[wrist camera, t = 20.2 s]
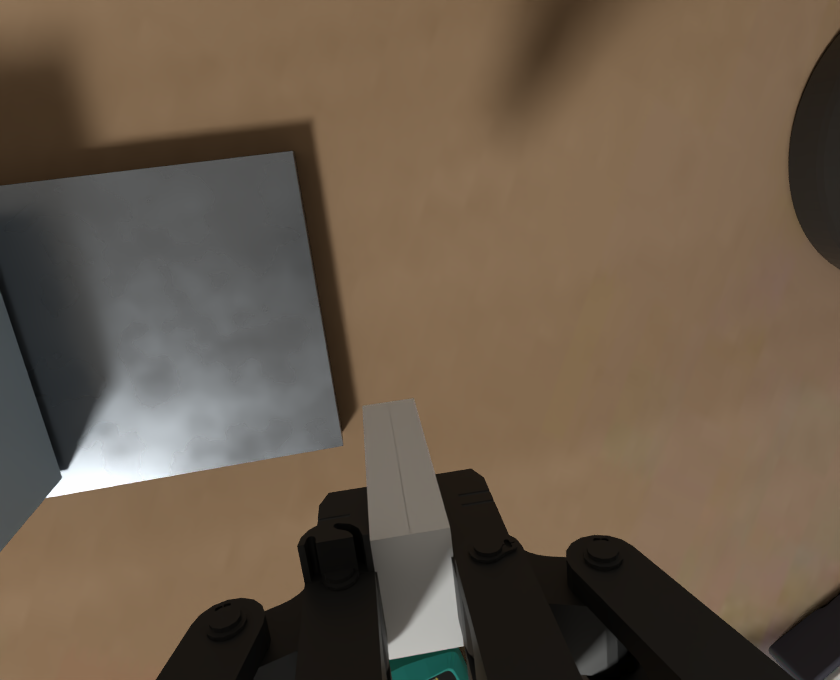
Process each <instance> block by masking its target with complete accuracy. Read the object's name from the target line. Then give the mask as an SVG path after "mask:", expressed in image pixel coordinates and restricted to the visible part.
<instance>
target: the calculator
mask: <svg viewBox="0 0 840 680" xmlns="http://www.w3.org/2000/svg"><path fill="white" fill-rule="evenodd" d="M769 653H770V654H771V655H772V657H773V658H774V659H775V660H776V661H777V662H778V663H779V665H780V666H781V667H782V668H783V669H784V670H785V671H786V672H787V673H788V674H790V675H791V676H792V677H793V678H794V679H796V680H840V594H839V595H838V596H837V597H836V598H835V599H833V600H832V601H831V602H830V603H829V604H828V605H827V606H825V607H824V608H821V609H817V610H815V611H814V612H813V613H812V614H810V615H809V616H808V617H806V618H805V619H804V620H803V621H801V622H800V623H799V624H798V625H796V626H795V627H794V628H793V629H791V630H790V631H789V632H788V633H786V634H785V635H784V636H783V637H781V638H780V639H779V640H777V641H776V642H775V643H774V644H773V645H771V646H770V648H769Z"/></svg>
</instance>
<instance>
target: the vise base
mask: <svg viewBox="0 0 840 680" xmlns="http://www.w3.org/2000/svg"><path fill="white" fill-rule="evenodd" d="M0 292H1V295H2V298H3V301H4V304H5V307H6V310H7V313H8V316H9V319H10V322H11V325H12V328H13V331H14V334H15V337H16V340H17V343H18V346H19V349H20V352H21V355H22V358H23V361H24V364H25V367H26V370H27V373H28V376H29V379H30V382H31V385H32V388H33V391H34V394H35V397H36V400H37V403H38V406H39V409H40V412H41V415H42V418H43V421H44V424H45V427H46V430H47V433H48V436H49V439H50V442H51V445H52V448H53V451H54V454H55V457H56V460H57V463H58V466H59V469H60V472H61V475H62V479H61V480H60V481H59V482H58V484H57V485H56V486H55V487H54V488H53V490H52V491H51V492H50V493H49V494H48V496H47V497H46V498H48V497H54V496H59V495H65V494H71V493H76V492H82V491H88V490H94V489H99V488H105V487H111V486H116V485H122V484H128V483H133V482H139V481H145V480H150V479H156V478H162V477H168V476H173V475H179V474H185V473H190V472H196V471H202V470H207V469H213V468H219V467H224V466H230V465H236V464H242V463H247V462H253V461H259V460H264V459H270V458H276V457H281V456H287V455H293V454H298V453H304V452H310V451H316V450H321V449H327V448H333V447H338V446H343V436H342V428H341V422H340V417H339V411H338V405H337V399H336V393H335V387H334V381H333V376H332V370H331V364H330V358H329V352H328V346H327V341H326V335H325V329H324V323H323V317H322V311H321V306H320V300H319V294H318V288H317V282H316V276H315V270H314V265H313V259H312V253H311V247H310V241H309V235H308V230H307V224H306V218H305V212H304V206H303V200H302V195H301V189H300V183H299V177H298V171H297V165H296V159H295V154H294V151H288V152H280V153H271V154H263V155H255V156H246V157H238V158H229V159H221V160H213V161H204V162H196V163H187V164H179V165H170V166H162V167H154V168H145V169H137V170H128V171H120V172H112V173H103V174H95V175H86V176H78V177H70V178H61V179H53V180H44V181H36V182H27V183H19V184H11V185H2V186H0Z"/></svg>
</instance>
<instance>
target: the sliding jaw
mask: <svg viewBox="0 0 840 680" xmlns="http://www.w3.org/2000/svg"><path fill="white" fill-rule="evenodd" d="M61 479H62V475H61V472H60V469H59V466H58V463H57V460H56V457H55V454H54V451H53V448H52V445H51V442H50V439H49V436H48V433H47V430H46V427H45V424H44V421H43V418H42V415H41V412H40V409H39V406H38V403H37V400H36V397H35V394H34V391H33V388H32V385H31V382H30V379H29V376H28V373H27V370H26V367H25V364H24V361H23V358H22V355H21V352H20V349H19V346H18V343H17V340H16V337H15V334H14V331H13V328H12V325H11V322H10V319H9V316H8V313H7V310H6V307H5V304H4V301H3V298H2V295H1V292H0V552H1V550H2V549H3V548H4V547H5V546H6V544H7V543H8V542H9V541H10V540H11V538H12V537H13V536H14V535H15V534H16V532H17V531H18V530H19V529H20V528H21V527H22V525H23V524H24V523H25V522H26V521H27V519H28V518H29V517H30V516H31V515H32V513H33V512H34V511H35V510H36V509H37V507H38V506H39V505H40V504H41V503H42V502H43V500H44V499H45V498H46V497H47V496H48V494H49V493H50V492H51V491H52V490H53V488H54V487H55V486H56V485H57V484H58V482H59V481H60V480H61Z"/></svg>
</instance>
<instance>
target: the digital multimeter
mask: <svg viewBox="0 0 840 680" xmlns="http://www.w3.org/2000/svg"><path fill="white" fill-rule="evenodd" d="M389 663H390V669H391V675H392V680H456V679H457V680H469V678H468V669H467V665H466V662H465V660H464V658H463V656H462V654H461V651H460V649H459V647H457V648H451V649H446V650H440V651H435V652H429V653H424V654H418V655H413V656H408V657H402V658H397V659H391V660H389ZM455 677H456V678H455Z"/></svg>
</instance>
